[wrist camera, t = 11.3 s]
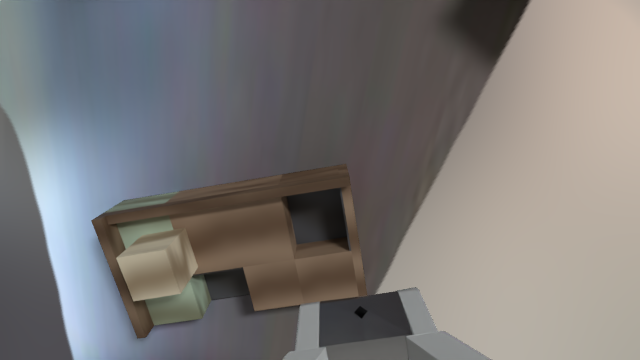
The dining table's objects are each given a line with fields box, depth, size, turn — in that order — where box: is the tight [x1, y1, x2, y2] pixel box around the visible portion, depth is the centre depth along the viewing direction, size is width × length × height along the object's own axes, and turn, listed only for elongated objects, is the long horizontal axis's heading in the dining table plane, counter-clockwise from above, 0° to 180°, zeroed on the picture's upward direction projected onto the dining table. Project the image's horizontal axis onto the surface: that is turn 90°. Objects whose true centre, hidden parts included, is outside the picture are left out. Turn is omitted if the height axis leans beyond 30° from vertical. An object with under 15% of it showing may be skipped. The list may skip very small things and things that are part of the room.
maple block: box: [116, 228, 198, 301], centre depth 36 cm, size 5×5×5 cm
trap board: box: [91, 164, 367, 338], centre depth 40 cm, size 15×27×6 cm, turn 100°
